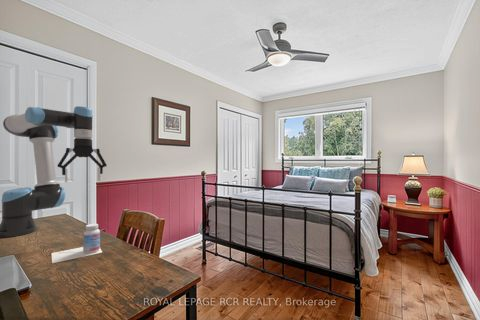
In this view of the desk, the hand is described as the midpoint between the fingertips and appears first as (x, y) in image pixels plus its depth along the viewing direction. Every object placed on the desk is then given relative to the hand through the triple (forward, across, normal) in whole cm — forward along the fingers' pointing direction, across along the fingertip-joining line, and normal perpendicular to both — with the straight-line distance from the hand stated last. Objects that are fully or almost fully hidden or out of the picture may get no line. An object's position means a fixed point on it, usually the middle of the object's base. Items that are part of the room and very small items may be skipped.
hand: (83, 181), depth 117 cm
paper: (+29, -4, -19) cm, 35 cm away
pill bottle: (+29, +1, -21) cm, 35 cm away
